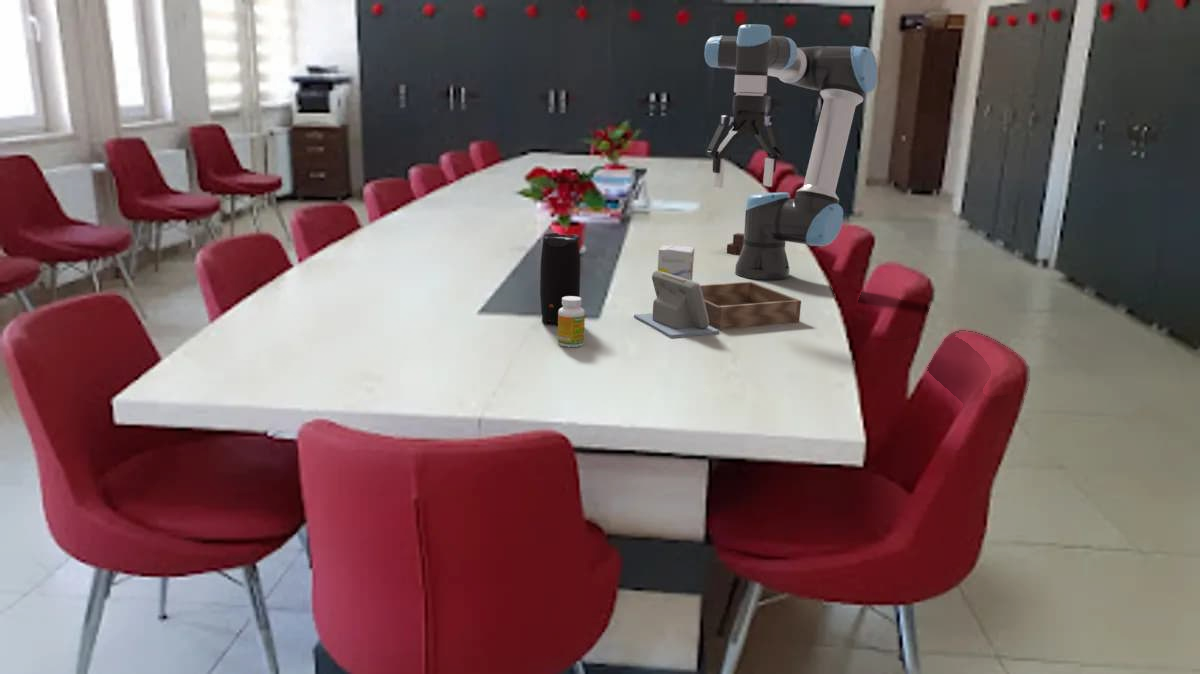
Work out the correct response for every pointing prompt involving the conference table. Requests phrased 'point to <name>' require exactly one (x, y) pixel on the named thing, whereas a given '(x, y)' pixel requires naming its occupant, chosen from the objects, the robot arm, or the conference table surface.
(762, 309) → the walnut tray
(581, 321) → the supplement bottle
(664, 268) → the ink box
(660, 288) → the digital clock
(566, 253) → the portable speaker
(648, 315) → the slate mat
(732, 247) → the stack of crates
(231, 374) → the conference table surface
